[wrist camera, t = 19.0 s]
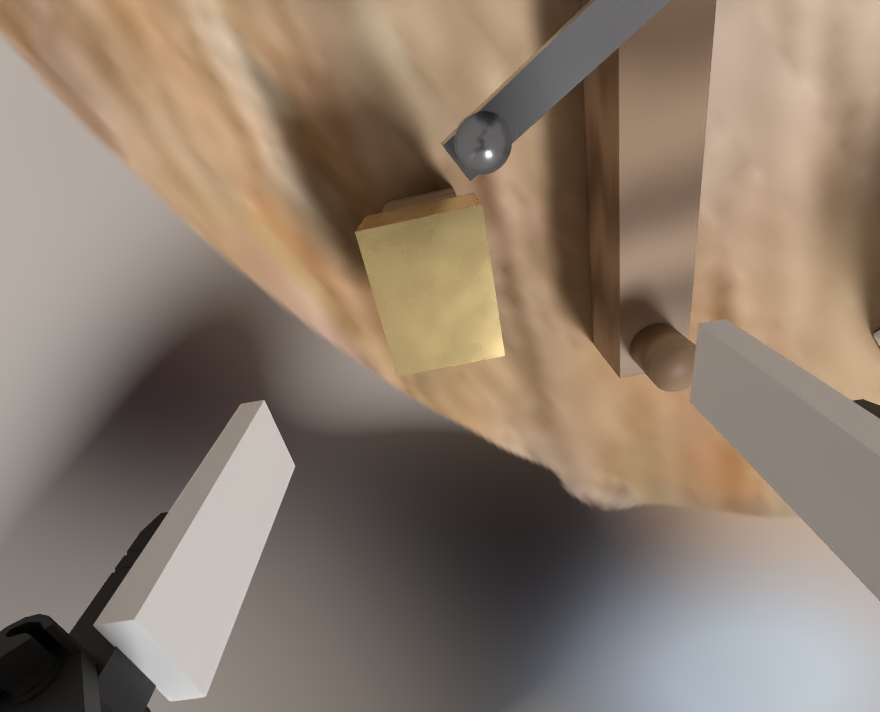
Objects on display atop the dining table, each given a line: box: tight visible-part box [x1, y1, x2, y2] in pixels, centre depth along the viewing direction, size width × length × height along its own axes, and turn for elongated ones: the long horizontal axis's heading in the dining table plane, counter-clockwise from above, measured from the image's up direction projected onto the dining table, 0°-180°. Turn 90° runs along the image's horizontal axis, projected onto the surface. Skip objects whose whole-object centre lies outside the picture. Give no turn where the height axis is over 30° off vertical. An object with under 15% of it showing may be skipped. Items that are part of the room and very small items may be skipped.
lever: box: [441, 0, 671, 181], centre depth 13 cm, size 14×3×4 cm, turn 131°
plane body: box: [581, 0, 716, 392], centre depth 23 cm, size 22×4×9 cm, turn 12°
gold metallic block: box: [355, 193, 505, 376], centre depth 23 cm, size 8×6×4 cm
